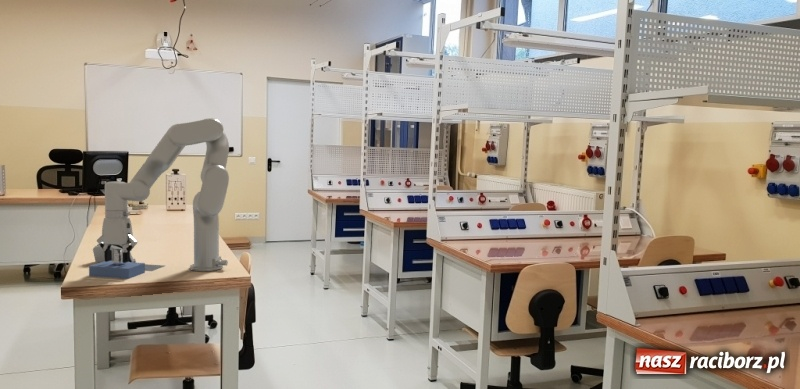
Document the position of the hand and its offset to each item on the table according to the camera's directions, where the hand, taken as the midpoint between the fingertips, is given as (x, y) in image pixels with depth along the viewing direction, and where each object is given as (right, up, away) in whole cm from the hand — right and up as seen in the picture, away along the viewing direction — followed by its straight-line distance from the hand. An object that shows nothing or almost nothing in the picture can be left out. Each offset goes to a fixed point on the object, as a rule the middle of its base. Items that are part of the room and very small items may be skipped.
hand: (117, 261), depth 215 cm
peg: (0, -5, 0) cm, 5 cm away
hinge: (-12, -4, +21) cm, 24 cm away
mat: (+4, -4, +13) cm, 14 cm away
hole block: (0, -5, 0) cm, 5 cm away
